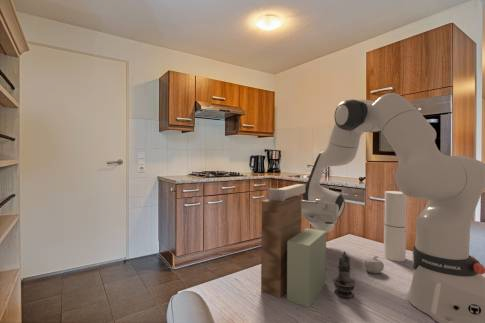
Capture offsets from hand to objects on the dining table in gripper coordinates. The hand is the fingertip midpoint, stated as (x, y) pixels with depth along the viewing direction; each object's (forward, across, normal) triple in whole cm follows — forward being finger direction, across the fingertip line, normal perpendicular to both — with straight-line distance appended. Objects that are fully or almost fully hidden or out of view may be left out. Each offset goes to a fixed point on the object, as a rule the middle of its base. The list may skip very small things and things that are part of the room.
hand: (304, 200), depth 94 cm
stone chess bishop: (0, +17, +27) cm, 32 cm away
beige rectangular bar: (+13, 0, +4) cm, 13 cm away
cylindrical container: (-32, +27, +8) cm, 43 cm away
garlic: (-17, +22, +17) cm, 32 cm away
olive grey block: (+5, +8, +29) cm, 30 cm away
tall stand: (+5, 0, +29) cm, 29 cm away
